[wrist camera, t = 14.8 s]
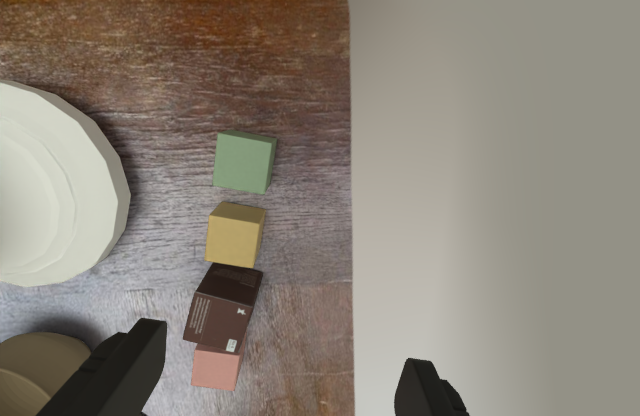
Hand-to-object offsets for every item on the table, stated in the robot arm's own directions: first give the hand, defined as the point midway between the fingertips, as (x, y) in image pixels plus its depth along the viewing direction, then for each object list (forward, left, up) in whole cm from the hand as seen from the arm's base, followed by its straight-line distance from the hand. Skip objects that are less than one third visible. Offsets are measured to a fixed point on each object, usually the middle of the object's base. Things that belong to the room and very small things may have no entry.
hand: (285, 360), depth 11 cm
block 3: (+6, +22, -27) cm, 36 cm away
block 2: (+6, +6, -27) cm, 28 cm away
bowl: (+25, +27, -27) cm, 46 cm away
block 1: (+6, -2, -27) cm, 28 cm away
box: (+6, +14, -27) cm, 31 cm away
